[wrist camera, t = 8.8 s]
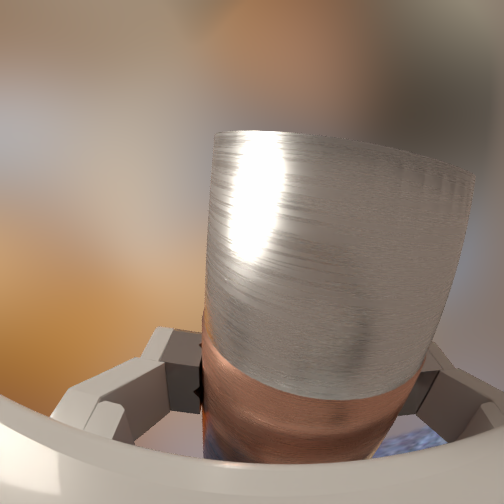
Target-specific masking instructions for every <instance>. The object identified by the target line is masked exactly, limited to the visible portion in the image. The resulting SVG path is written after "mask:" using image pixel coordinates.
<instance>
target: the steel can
mask: <svg viewBox="0 0 504 504" xmlns="http://www.w3.org/2000/svg"><path fill="white" fill-rule="evenodd" d="M474 184H475V175H474V174H473V173H470V172H469V171H466V170H464V169H462V168H460V167H457V166H454V165H451V164H449V163H446V162H443V161H440V160H436V159H433V158H430V157H426V156H423V155H419V154H416V153H412V152H408V151H404V150H400V149H395V148H391V147H387V146H382V145H377V144H371V143H366V142H360V141H355V140H349V139H342V138H335V137H327V136H319V135H311V134H300V133H288V132H287V133H286V132H271V131H230V132H219V133H216V134H215V136H214V148H213V160H212V173H211V187H210V201H209V217H208V235H207V257H206V279H205V309H204V311H203V316H202V426H203V456H204V459H211V460H220V461H230V462H243V463H260V464H318V463H335V462H347V461H357V460H365V459H371V458H372V456H373V455H374V453H375V452H376V450H377V449H378V447H379V446H380V444H381V443H382V441H383V440H384V438H385V436H386V434H387V433H388V431H389V430H390V428H391V426H392V425H393V423H394V421H395V420H396V418H397V416H398V414H399V413H400V411H401V409H402V407H403V405H404V403H405V402H406V400H407V398H408V396H409V394H410V392H411V390H412V388H413V386H414V384H415V382H416V380H417V378H418V376H419V374H420V372H421V370H422V367H423V365H424V363H425V360H426V355H427V351H428V349H429V346H430V344H431V342H432V339H433V337H434V334H435V331H436V329H437V326H438V323H439V321H440V318H441V316H442V313H443V310H444V307H445V304H446V301H447V298H448V295H449V292H450V289H451V285H452V283H453V279H454V276H455V273H456V268H457V265H458V262H459V258H460V254H461V250H462V246H463V242H464V238H465V233H466V229H467V224H468V219H469V214H470V209H471V203H472V197H473V191H474Z"/></svg>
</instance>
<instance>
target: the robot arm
mask: <svg viewBox="0 0 504 504" xmlns="http://www.w3.org/2000/svg"><path fill="white" fill-rule="evenodd" d="M201 406H202V333H200V332H192V331H186V330H180V329H173V328H167V327H157V328H156V329H155V331H154V333H153V334H152V336H151V338H150V340H149V342H148V344H147V346H146V347H145V349H144V351H143V353H142V355H141V357H140V358H137V357H135V358H133V359H130V360H128V361H126V362H124V363H122V364H120V365H118V366H116V367H114V368H112V369H110V370H107V371H105V372H103V373H101V374H99V375H97V376H95V377H92V378H90V379H88V380H86V381H84V382H82V383H79V384H77V385H75V386H73V387H71V388H69V389H68V390H67V392H66V393H65V395H64V396H63V398H62V399H61V401H60V402H59V404H58V406H57V407H56V408H55V410H54V411H53V413H52V414H51V416H50V417H47V416H45V415H42V414H40V413H38V412H35V411H33V410H31V409H29V408H26V407H24V406H22V405H20V404H18V403H16V402H14V401H12V400H10V399H8V398H6V397H4V396H2V395H0V504H504V392H503V391H501V390H499V389H497V388H495V387H493V386H491V385H489V384H488V383H485V382H484V381H482V380H480V379H478V378H476V377H474V376H472V375H470V374H469V373H467V372H465V371H463V370H461V369H459V368H458V369H455V367H454V366H453V365H452V363H451V362H450V361H449V359H448V358H447V357H446V356H445V354H444V353H443V352H442V351H441V349H440V348H439V347H438V346H437V344H436V343H435V342H431V344H430V346H429V349H428V351H427V355H426V360H425V363H424V365H423V367H422V370H421V372H420V374H419V376H418V378H417V380H416V382H415V384H414V386H413V388H412V390H411V392H410V394H409V396H408V398H407V400H406V402H405V403H404V405H403V407H402V409H401V411H400V413H399V414H398V416H402V415H410V414H416V416H418V417H419V418H420V419H421V420H422V421H424V423H426V424H427V425H428V426H429V427H430V428H431V429H433V430H434V431H435V432H436V433H437V434H438V435H440V436H441V437H442V438H443V439H444V440H445V441H447V442H448V443H447V444H443V445H440V446H436V447H432V448H427V449H423V450H419V451H414V452H409V453H404V454H398V455H393V456H387V457H380V458H373V459H365V460H357V461H347V462H335V463H318V464H260V463H243V462H230V461H220V460H211V459H204V458H196V457H190V456H183V455H178V454H172V453H166V452H161V451H157V450H152V449H147V448H143V447H139V446H135V443H134V441H135V440H136V439H138V438H139V437H140V436H141V435H143V434H144V433H145V432H146V431H148V430H149V429H150V428H151V427H152V426H154V425H155V424H156V423H157V422H158V421H160V420H161V419H162V418H163V417H164V416H165V415H167V414H168V413H169V412H170V410H171V411H179V412H186V413H194V414H200V411H201Z"/></svg>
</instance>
